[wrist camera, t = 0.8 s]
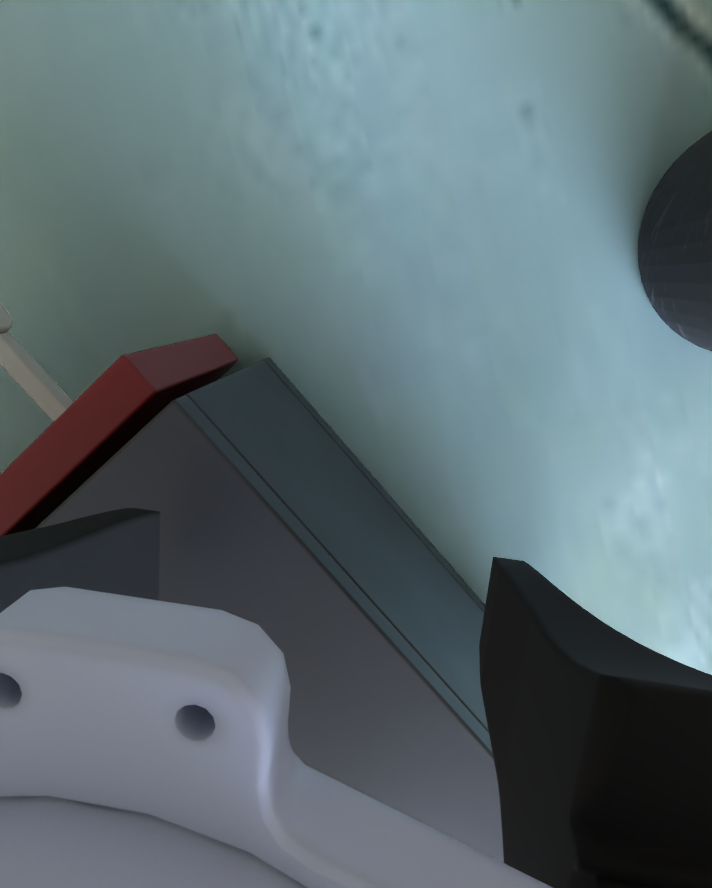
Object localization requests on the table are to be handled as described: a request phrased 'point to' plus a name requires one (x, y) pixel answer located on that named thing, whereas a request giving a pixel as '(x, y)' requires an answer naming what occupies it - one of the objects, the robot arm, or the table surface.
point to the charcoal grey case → (319, 591)
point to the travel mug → (681, 245)
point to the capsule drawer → (93, 417)
